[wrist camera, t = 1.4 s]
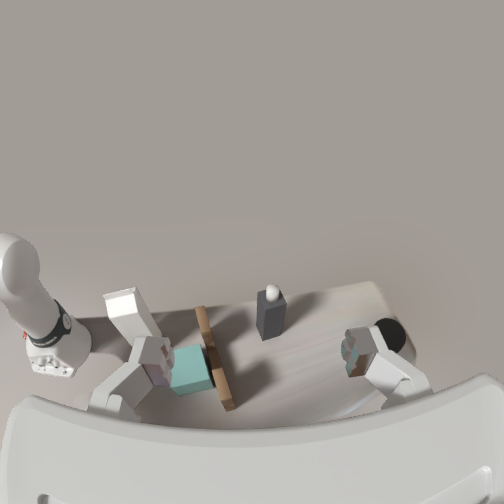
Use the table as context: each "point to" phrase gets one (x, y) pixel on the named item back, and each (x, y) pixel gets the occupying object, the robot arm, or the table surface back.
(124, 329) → the milk
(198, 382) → the teal block
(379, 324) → the jar
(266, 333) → the grey capped bottle
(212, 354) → the brown notched panel
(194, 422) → the table surface
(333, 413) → the table surface
